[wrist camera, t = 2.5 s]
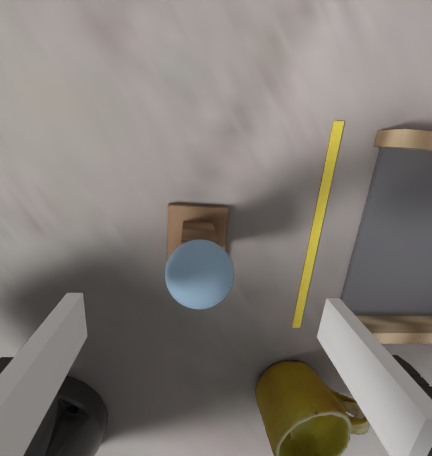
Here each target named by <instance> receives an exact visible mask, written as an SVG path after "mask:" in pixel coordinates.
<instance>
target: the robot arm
mask: <svg viewBox="0 0 432 456" xmlns="http://www.w3.org/2000/svg"><path fill="white" fill-rule="evenodd" d="M86 338H87V327H86V318H85V308H84V299H83V293H67V294H66V295H65V296H64V297H63V298H62V300H61V301H60V302H59V303H58V304H57V306H56V307H55V308H54V309H53V311H52V312H51V313H50V314H49V315H48V317H47V318H46V319H45V320H44V322H43V323H42V324H41V325H40V326H39V328H38V329H37V330H36V331H35V332H34V334H33V335H32V336H31V337H30V339H29V340H28V341H27V342H26V343H25V345H24V346H23V347H22V348H21V349H20V351H19V352H18V353H17V354H16V356H15V357H1V358H0V456H95V454H96V453H97V451H98V449H99V447H100V445H101V442H102V439H103V435H104V432H105V429H106V425H107V411H106V407H105V405H104V403H103V401H102V400H101V398H100V397H99V396H98V395H97V394H96V393H95V392H94V391H93V390H92V389H90V388H89V387H88V386H86V385H85V384H83V383H81V382H79V381H77V380H74V379H72V378H69V377H66V375H67V374H68V372H69V370H70V368H71V366H72V364H73V362H74V361H75V359H76V357H77V355H78V353H79V351H80V349H81V348H82V346H83V344H84V342H85V340H86ZM317 339H318V340H319V342H320V343H321V345H322V347H323V348H324V350H325V352H326V353H327V355H328V356H329V358H330V360H331V361H332V363H333V365H334V366H335V368H336V369H337V371H338V373H339V374H340V376H341V378H342V379H343V381H344V382H345V384H346V386H347V387H348V389H349V391H350V392H351V394H352V395H353V397H354V399H355V400H356V402H357V404H358V405H359V407H360V408H361V410H362V412H363V413H364V415H365V417H366V418H367V420H368V422H369V423H370V425H371V426H372V428H373V430H374V431H375V433H376V435H377V436H378V438H379V439H380V441H381V443H382V444H383V446H384V448H385V449H386V451H387V452H388V454H389V456H432V387H430V386H429V384H428V383H427V382H426V381H425V380H424V378H423V377H421V376H420V374H419V373H418V372H417V371H416V370H415V369H414V368H413V367H412V366H411V365H410V364H409V363H407V362H406V361H405V360H403V359H402V358H400V357H399V356H398V355H391V354H390V353H389V352H388V351H387V350H386V349H385V348H384V347H383V345H382V344H381V343H380V342H379V341H378V340H377V339H376V338H375V337H374V336H373V334H372V333H371V332H370V331H369V330H368V329H367V328H366V327H365V326H364V325H363V323H362V322H361V321H360V320H359V319H358V318H357V317H356V316H355V315H354V314H353V312H352V311H351V310H350V309H349V308H348V307H347V306H346V305H345V304H344V303H343V301H342V300H341V299H340V298H326V302H325V306H324V310H323V314H322V318H321V322H320V326H319V330H318V334H317Z"/></svg>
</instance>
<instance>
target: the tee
mask: <svg viewBox="0 0 432 456" xmlns="http://www.w3.org/2000/svg"><path fill="white" fill-rule="evenodd" d="M228 212H229V208H228V207H224V206H205V205H186V204H168V235H167V261H168V259H169V258H170V256H171V254H172V253H173V252H174V251H175V250H176V249H177V248H178V247H179V246H180V245H182V244H184V243H186V242H188V241H192V240H200V239H201V240H208V241H211V242H214V243H216V244H218V245H219V246H221V247H222V248H223V249H224V250H225V244H226V233H227V222H228Z"/></svg>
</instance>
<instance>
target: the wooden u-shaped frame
mask: <svg viewBox="0 0 432 456" xmlns="http://www.w3.org/2000/svg"><path fill="white" fill-rule="evenodd" d="M374 146H377V147H391V148H403V149H415V150H427V151H432V131H423V130H412V129H394V130H378V132H377V136H376V140H375V144H374ZM356 317H357V318H358V319H359V320H360V321H361V322H362V323H363V325H364V326H365V327H366V328H367V329H368V330H369V331H370V332H371V333H372V334H373V336H374V337H375V338H376V339H377V340H378V341H379V342H380V343H381V344H418V343H432V316H356Z"/></svg>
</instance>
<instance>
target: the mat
mask: <svg viewBox="0 0 432 456" xmlns="http://www.w3.org/2000/svg"><path fill="white" fill-rule="evenodd" d="M341 300H342V301H343V303H344V304H345V305H346V306H347V307H348V308H349V309H350V310H351V311H352V312H353V314H354V315H355V316H432V151H427V150H415V149H403V148H391V147H381V148H380V152H379V155H378V159H377V163H376V167H375V171H374V174H373V178H372V182H371V186H370V190H369V193H368V197H367V201H366V205H365V208H364V212H363V216H362V220H361V224H360V227H359V231H358V235H357V239H356V243H355V246H354V250H353V254H352V258H351V261H350V265H349V269H348V273H347V277H346V280H345V284H344V288H343V292H342V296H341Z"/></svg>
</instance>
